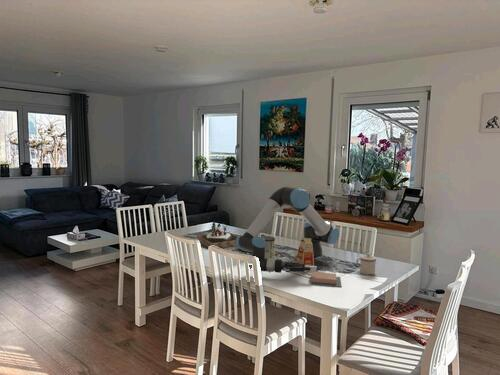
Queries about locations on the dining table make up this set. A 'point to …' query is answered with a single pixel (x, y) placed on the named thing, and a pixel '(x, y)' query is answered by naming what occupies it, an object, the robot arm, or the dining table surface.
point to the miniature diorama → (218, 234)
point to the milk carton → (305, 252)
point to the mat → (329, 284)
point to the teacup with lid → (367, 264)
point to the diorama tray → (220, 244)
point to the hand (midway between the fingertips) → (316, 268)
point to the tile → (323, 278)
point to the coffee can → (269, 247)
